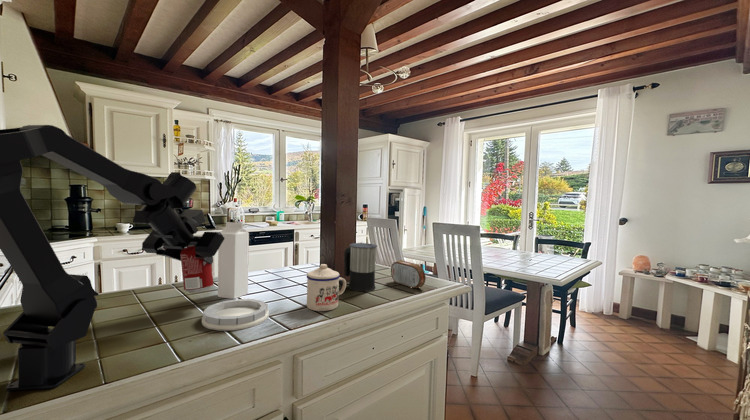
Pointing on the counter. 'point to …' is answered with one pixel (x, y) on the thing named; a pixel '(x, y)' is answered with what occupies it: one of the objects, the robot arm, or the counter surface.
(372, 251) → the milk frother
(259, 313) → the ring tray
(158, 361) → the counter surface
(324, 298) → the teacup with lid
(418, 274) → the tin
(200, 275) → the soda can
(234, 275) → the milk
